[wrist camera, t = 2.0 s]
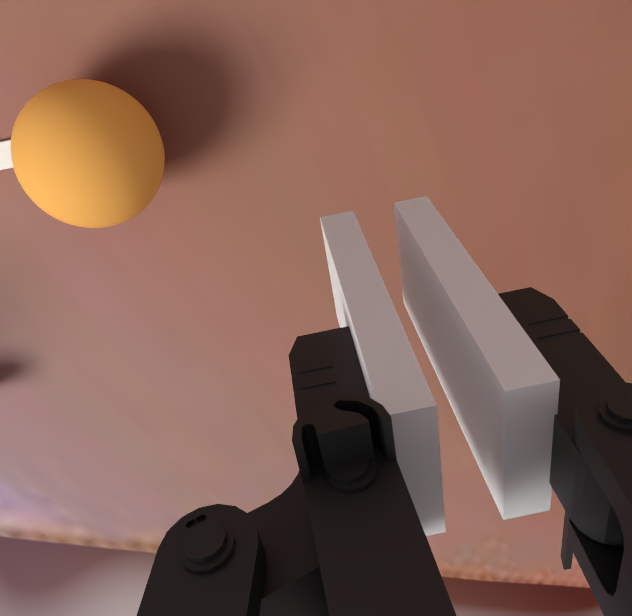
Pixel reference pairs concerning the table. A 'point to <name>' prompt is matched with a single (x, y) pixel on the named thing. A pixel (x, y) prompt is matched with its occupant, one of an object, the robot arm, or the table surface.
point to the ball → (87, 153)
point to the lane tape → (5, 155)
